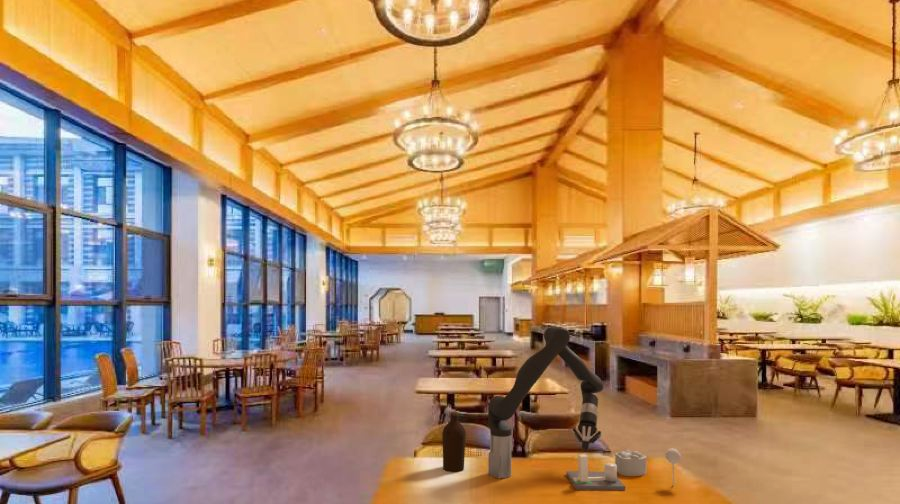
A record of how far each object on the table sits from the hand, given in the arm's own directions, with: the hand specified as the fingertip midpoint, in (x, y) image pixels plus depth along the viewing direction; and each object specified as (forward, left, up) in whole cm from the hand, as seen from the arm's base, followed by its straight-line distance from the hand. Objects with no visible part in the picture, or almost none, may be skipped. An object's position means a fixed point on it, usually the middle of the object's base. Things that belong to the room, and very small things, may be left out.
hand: (585, 450), depth 232 cm
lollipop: (+19, -30, -11) cm, 37 cm away
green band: (-9, -5, -10) cm, 14 cm away
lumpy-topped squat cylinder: (+22, -10, -12) cm, 27 cm away
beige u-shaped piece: (-5, -8, -9) cm, 13 cm away
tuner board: (-2, -6, -11) cm, 13 cm away
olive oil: (-36, +45, -12) cm, 59 cm away
